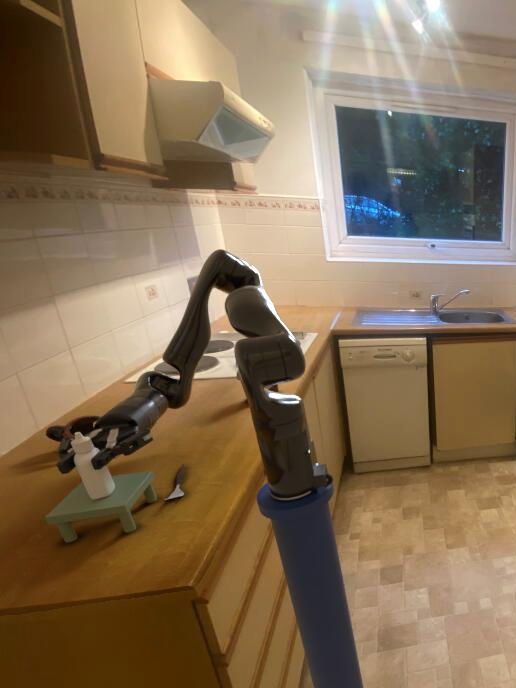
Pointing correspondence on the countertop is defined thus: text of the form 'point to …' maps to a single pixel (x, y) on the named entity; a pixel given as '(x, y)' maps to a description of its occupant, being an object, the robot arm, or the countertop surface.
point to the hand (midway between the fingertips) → (79, 466)
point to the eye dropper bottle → (91, 468)
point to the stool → (103, 503)
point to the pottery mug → (72, 428)
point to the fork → (177, 491)
